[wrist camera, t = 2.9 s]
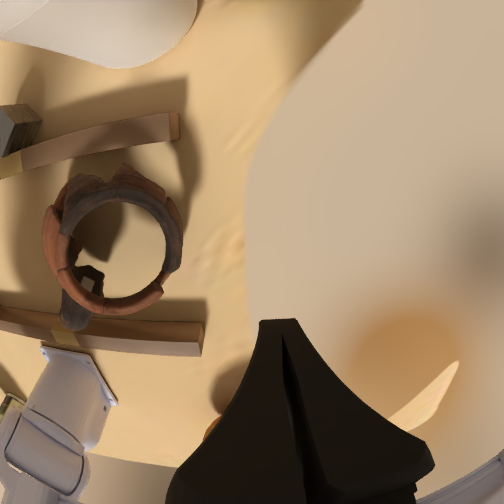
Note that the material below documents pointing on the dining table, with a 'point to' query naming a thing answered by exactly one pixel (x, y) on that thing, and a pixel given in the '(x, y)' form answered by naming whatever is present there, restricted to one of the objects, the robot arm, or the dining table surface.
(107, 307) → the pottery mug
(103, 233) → the dining table surface
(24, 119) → the block
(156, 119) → the walnut slot beam
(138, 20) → the pill bottle
